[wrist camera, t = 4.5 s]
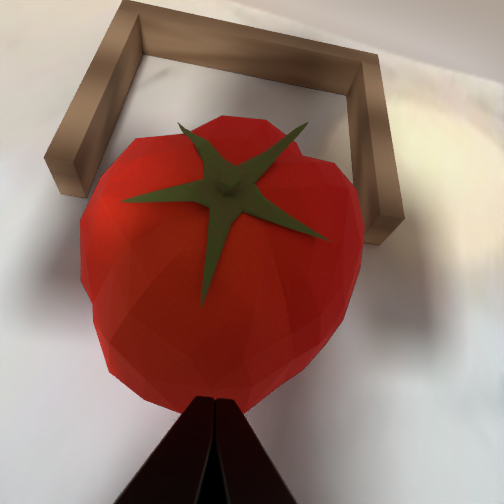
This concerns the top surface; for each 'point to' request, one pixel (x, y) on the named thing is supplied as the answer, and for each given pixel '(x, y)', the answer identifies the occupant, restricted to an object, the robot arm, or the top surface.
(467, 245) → the top surface
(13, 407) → the top surface
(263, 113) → the top surface
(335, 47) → the walnut bay
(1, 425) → the top surface
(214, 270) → the tomato
